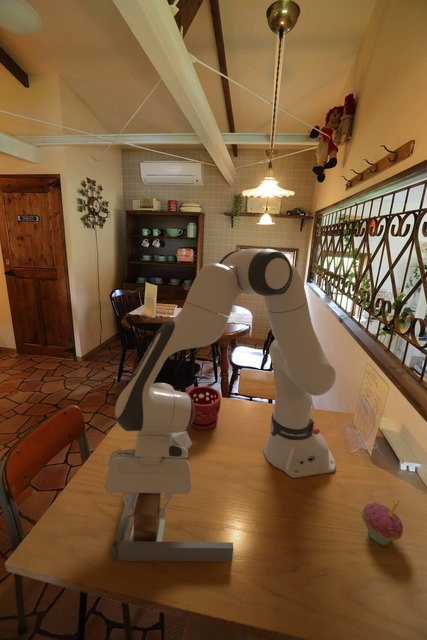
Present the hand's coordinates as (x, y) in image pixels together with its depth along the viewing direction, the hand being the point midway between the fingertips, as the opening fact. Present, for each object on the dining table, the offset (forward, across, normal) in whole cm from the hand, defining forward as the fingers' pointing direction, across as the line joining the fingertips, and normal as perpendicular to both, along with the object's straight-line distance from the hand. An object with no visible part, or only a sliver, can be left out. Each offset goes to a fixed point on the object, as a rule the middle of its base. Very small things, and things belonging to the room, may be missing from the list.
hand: (145, 516), depth 64 cm
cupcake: (+4, +56, +6) cm, 57 cm away
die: (-14, +4, +24) cm, 29 cm away
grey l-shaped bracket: (+1, +7, +9) cm, 12 cm away
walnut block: (+4, 0, +5) cm, 6 cm away
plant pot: (-26, +12, +36) cm, 46 cm away
